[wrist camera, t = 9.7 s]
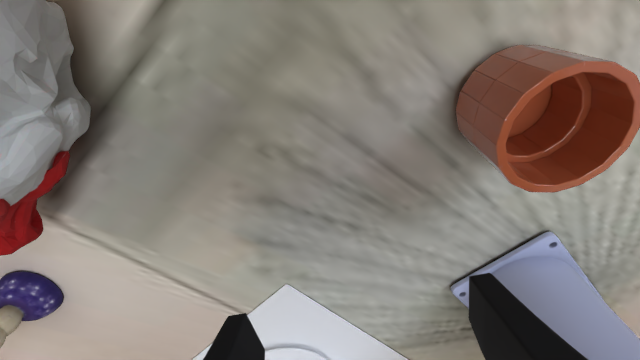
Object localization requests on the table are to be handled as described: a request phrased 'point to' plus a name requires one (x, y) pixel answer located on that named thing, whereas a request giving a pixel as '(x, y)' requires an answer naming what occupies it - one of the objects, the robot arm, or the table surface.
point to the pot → (549, 115)
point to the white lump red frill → (34, 113)
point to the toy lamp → (25, 300)
